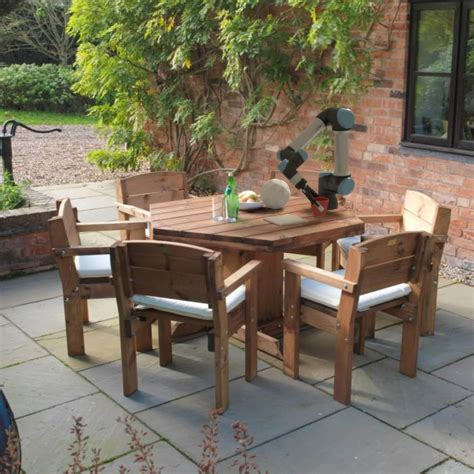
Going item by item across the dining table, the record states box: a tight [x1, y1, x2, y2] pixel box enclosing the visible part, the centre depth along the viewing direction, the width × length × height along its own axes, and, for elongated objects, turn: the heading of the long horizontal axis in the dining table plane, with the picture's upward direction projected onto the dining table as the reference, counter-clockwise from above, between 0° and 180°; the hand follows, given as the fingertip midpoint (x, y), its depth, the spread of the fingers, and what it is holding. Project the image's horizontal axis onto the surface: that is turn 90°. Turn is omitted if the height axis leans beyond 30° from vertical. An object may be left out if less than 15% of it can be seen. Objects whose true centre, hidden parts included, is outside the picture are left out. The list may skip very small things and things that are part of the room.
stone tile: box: [262, 214, 309, 227], centre depth 435 cm, size 20×18×1 cm
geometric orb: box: [259, 178, 292, 210], centre depth 466 cm, size 19×20×20 cm
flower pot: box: [310, 197, 329, 217], centre depth 434 cm, size 11×11×10 cm
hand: (324, 208), depth 434 cm, fingers closed on flower pot, 11 cm apart
